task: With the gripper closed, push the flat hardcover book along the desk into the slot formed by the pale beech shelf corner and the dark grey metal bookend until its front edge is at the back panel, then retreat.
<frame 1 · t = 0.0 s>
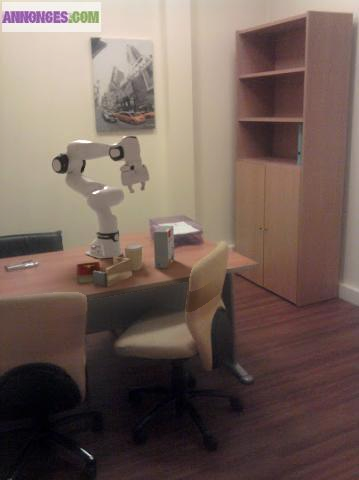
hand: (137, 191, 250), 39 cm above the table, tool pointing down, fingers open, 8 cm apart
hardcover book: (89, 276, 239), on the table
hard drive box: (165, 264, 253), on the table
bookend: (100, 285, 224), on the table
coffee cup: (134, 268, 248), on the table
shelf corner: (110, 279, 232), on the table
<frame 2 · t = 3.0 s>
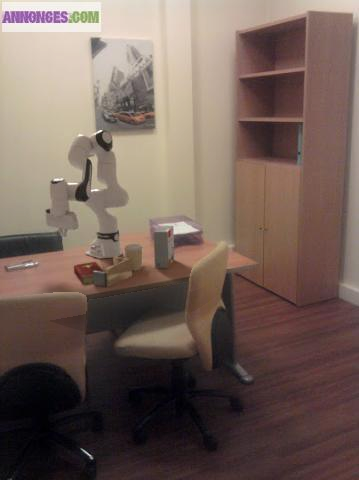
hand: (63, 236, 242), 19 cm above the table, tool pointing down, fingers closed
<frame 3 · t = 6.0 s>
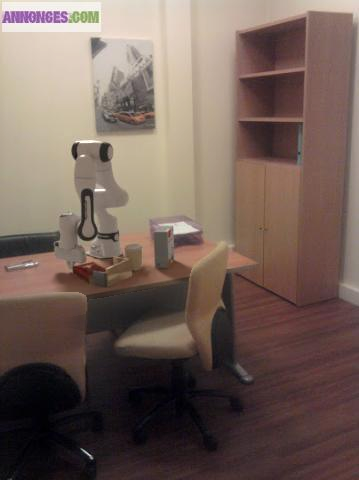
hand: (71, 268, 245), 2 cm above the table, tool pointing down, fingers closed
hardcover book: (91, 276, 239), on the table
everything else where it was.
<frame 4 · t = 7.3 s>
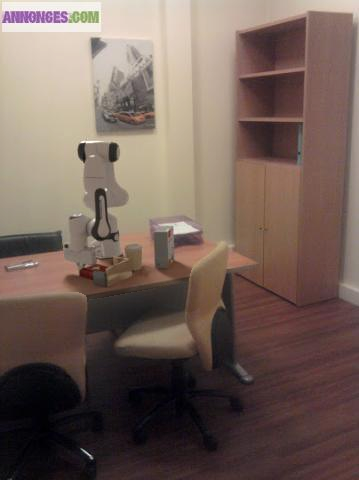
hand: (81, 270, 241), 2 cm above the table, tool pointing down, fingers closed
hardcover book: (101, 277, 236), on the table, touching gripper
everything else where it was.
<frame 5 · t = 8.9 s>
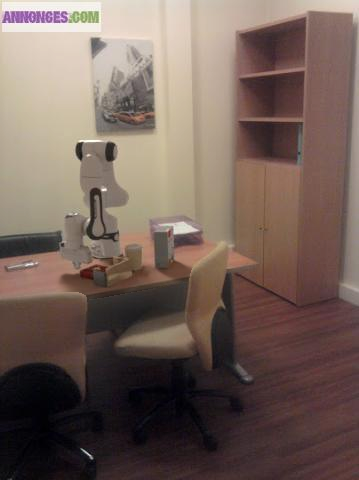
hand: (77, 269, 243), 2 cm above the table, tool pointing down, fingers closed
hardcover book: (103, 278, 236), on the table
everything else where it was.
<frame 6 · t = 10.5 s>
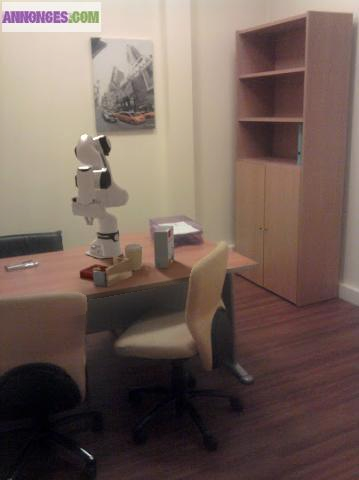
hand: (89, 225, 239), 25 cm above the table, tool pointing down, fingers closed
nothing on the table moved.
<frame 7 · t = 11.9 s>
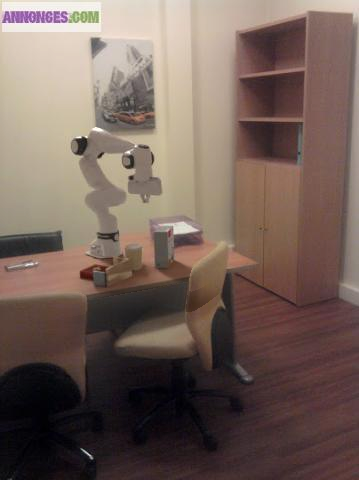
hand: (145, 202, 243), 34 cm above the table, tool pointing down, fingers closed
nothing on the table moved.
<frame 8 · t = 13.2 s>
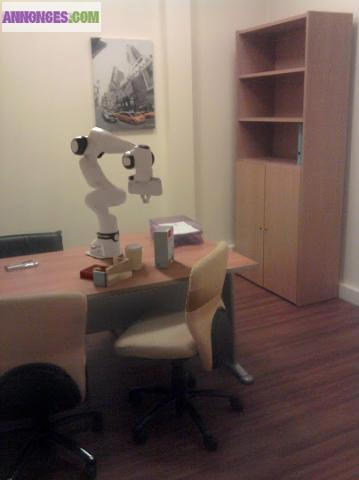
hand: (145, 203, 243), 34 cm above the table, tool pointing down, fingers closed
nothing on the table moved.
at the end: hardcover book inside the target area on the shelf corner (1.7 cm from its centre), point -0.7 cm above the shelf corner's base; hardcover book tilted 0°; hardcover book moved 8.3 cm from its start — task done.
